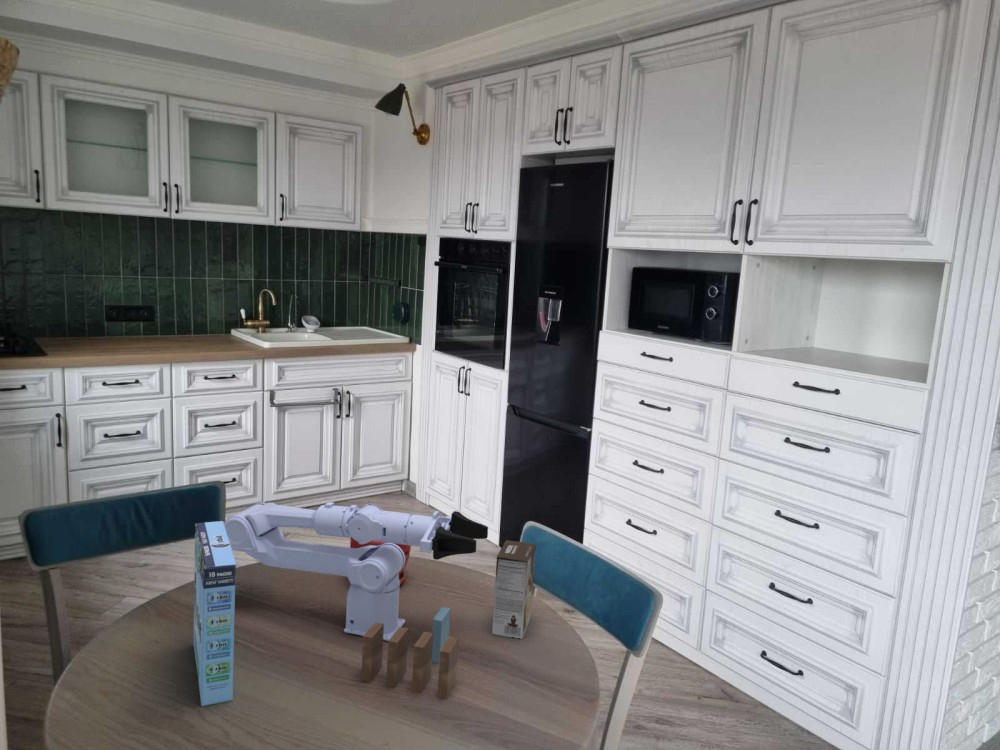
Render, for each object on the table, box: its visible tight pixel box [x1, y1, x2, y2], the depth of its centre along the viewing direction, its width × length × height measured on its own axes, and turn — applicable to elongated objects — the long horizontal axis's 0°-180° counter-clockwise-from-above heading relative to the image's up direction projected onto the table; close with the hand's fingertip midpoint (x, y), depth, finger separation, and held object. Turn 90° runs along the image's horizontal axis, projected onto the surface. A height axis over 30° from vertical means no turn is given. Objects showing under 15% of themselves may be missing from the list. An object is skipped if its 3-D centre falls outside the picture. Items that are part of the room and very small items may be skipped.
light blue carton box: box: [193, 520, 237, 708], centre depth 119 cm, size 20×5×23 cm, turn 26°
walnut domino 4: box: [437, 635, 459, 699], centre depth 119 cm, size 2×5×8 cm, turn 166°
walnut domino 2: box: [385, 626, 409, 688], centre depth 121 cm, size 2×5×8 cm, turn 166°
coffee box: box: [491, 539, 537, 640], centre depth 141 cm, size 9×6×16 cm
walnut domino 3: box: [411, 631, 433, 694], centre depth 120 cm, size 2×5×8 cm, turn 166°
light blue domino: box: [431, 606, 451, 664], centre depth 129 cm, size 2×5×8 cm, turn 166°
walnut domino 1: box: [360, 622, 384, 683], centre depth 122 cm, size 2×5×8 cm, turn 166°
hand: (481, 539), depth 130 cm, fingers open, 7 cm apart
